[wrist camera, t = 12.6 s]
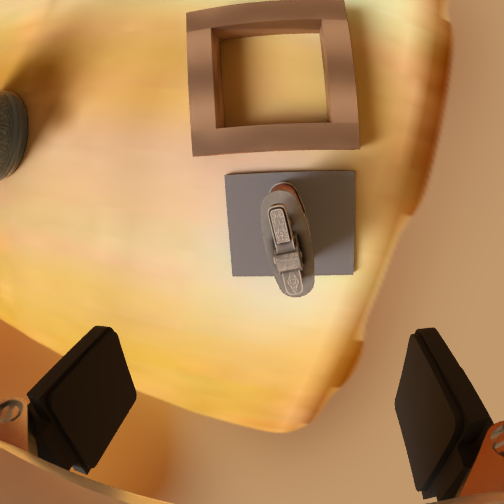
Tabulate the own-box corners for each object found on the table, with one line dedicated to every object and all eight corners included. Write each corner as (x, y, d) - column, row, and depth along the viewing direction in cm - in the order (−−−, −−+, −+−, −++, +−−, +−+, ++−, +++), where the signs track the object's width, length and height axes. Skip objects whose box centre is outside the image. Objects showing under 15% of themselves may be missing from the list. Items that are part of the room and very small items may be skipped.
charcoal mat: (226, 174, 30) (224, 175, 29) (353, 170, 28) (354, 171, 27) (233, 274, 33) (232, 276, 32) (352, 272, 31) (353, 274, 30)
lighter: (316, 260, 30) (324, 308, 21) (282, 267, 31) (275, 317, 22) (298, 177, 28) (299, 189, 19) (262, 185, 29) (245, 201, 20)
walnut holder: (197, 25, 25) (186, 12, 22) (339, 15, 23) (343, 0, 20) (204, 156, 29) (192, 156, 26) (352, 149, 27) (359, 149, 24)
